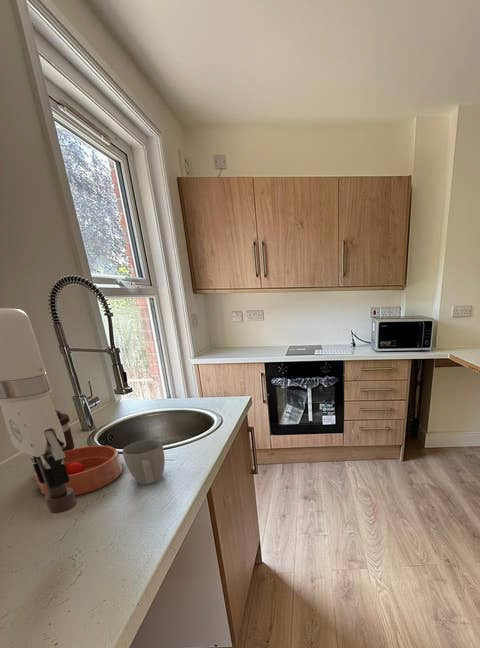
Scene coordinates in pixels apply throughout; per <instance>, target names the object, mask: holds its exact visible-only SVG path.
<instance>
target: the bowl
mask: <svg viewBox="0 0 480 648" xmlns="http://www.w3.org/2000/svg"><path fill="white" fill-rule="evenodd" d="M64 454H65V458H63V460H64V465H65V468H66V471H67V467H68V465H69V464H71V463H74V462H78V463H80V464H82V465H83V467H84V471H83V472H80V473H77V474H71V475H69V474H68V473H67V474H68V477H69V482H67V483H65V484H66V487H67V488H72V489H73V492H74V495H75V496H79V495H84V494H86V493H90V492H93V491H96V490H99V489H101V488H103V487H105V486H107V485H109V484H111V483H112V482H114V481H115V480H116V479H117V478H118V477H119V476H120V475H121V474H122V471H123V467H122V463H121V460H120V456H119V453H118V450H117V449H116V448H115V447H113V446H110V445H104V444H103V445H101V444H99V445H98V444H97V445H87V446H81V447H74V449H72V450H68V451H64ZM33 474H34V477H35V479H36V482H37V485H38V487H39V489H40V492H41V494H43V495H44V496H45V495H46V494H48V490H47V487H46V484H45V483H40V482H39V480H38V477H37V474H36V471H35V469H34V468H33Z"/></svg>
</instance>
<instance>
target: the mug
mask: <svg viewBox="0 0 480 648" xmlns="http://www.w3.org/2000/svg"><path fill="white" fill-rule="evenodd" d="M122 456H123V459H124V463H125V465H126V467H127V469H128V471H129V473H130V475H131V476H132V477H133V478H134V479H135V481H136V482H137V483H138V484H140V485H143V486H144V485H151V484H155V483H157V482H159V481H160V480H162V478H163V475H164V471H165V465H166V461H165V459H166V458H165V451H164V446H163V442H162V441H160V440H158V439H142V440H137V441H135V442H132V443H129V444H127V445H126V446H124V447H123V449H122Z"/></svg>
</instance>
